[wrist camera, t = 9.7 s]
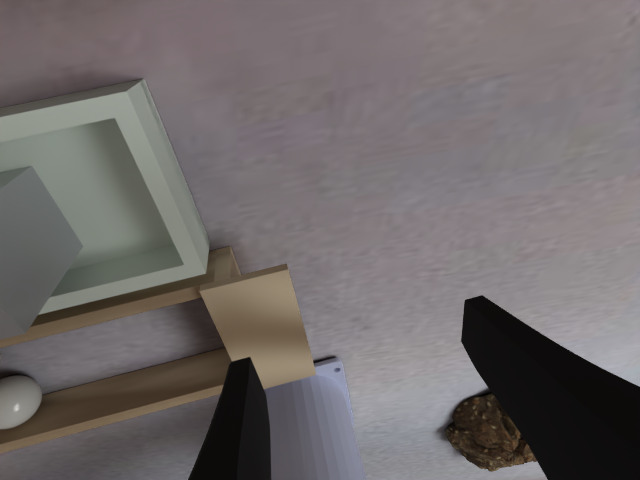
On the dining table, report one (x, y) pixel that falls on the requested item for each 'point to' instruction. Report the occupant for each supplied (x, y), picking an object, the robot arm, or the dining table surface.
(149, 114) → the green tub
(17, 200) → the stone block
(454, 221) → the dining table surface
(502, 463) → the brown rock
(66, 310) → the birch crate
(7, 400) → the grey ball
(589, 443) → the robot arm
